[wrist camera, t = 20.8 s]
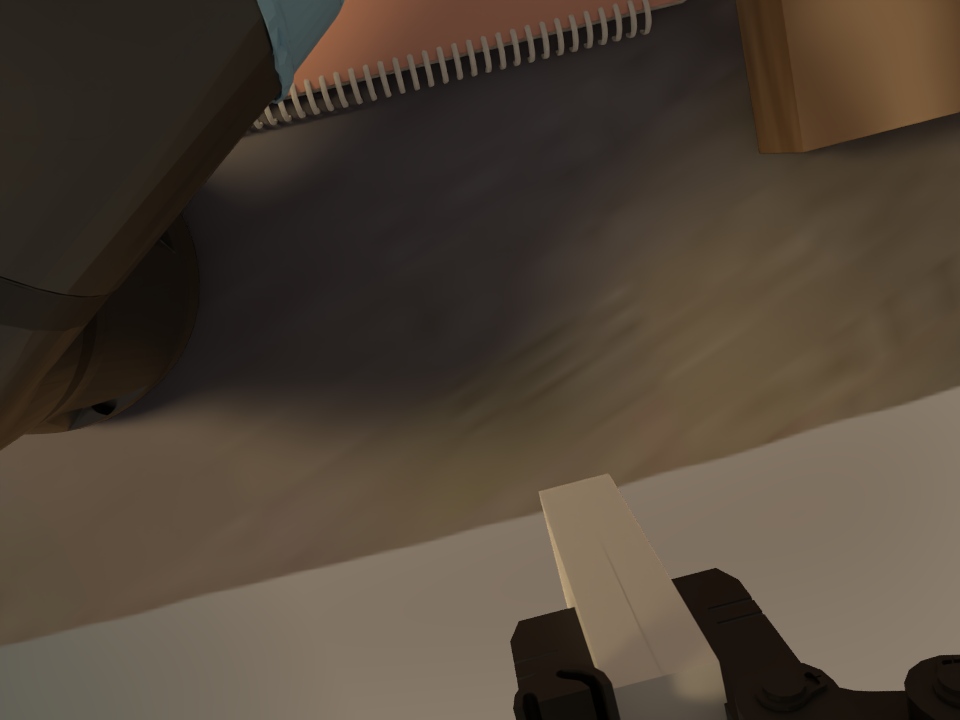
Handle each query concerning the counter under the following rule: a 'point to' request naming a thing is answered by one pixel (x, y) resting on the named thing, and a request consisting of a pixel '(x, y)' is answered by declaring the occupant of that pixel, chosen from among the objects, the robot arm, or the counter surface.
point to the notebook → (443, 39)
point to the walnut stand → (847, 67)
